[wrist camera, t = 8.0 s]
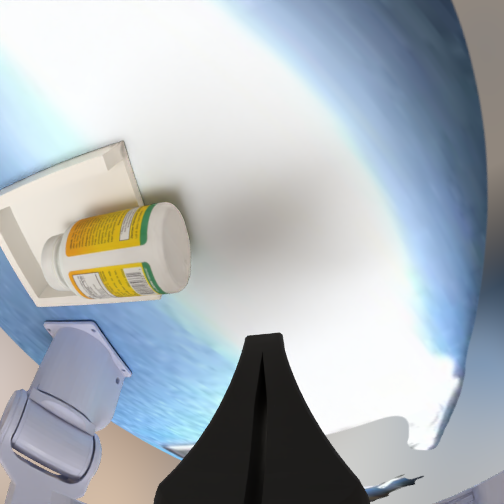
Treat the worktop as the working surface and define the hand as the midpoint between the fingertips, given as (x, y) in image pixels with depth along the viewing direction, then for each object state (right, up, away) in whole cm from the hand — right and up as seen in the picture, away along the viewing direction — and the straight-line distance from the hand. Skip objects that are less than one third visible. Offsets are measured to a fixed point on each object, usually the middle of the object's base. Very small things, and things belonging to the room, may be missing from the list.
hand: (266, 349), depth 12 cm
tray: (-14, +6, +9) cm, 17 cm away
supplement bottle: (-5, +4, +6) cm, 9 cm away
